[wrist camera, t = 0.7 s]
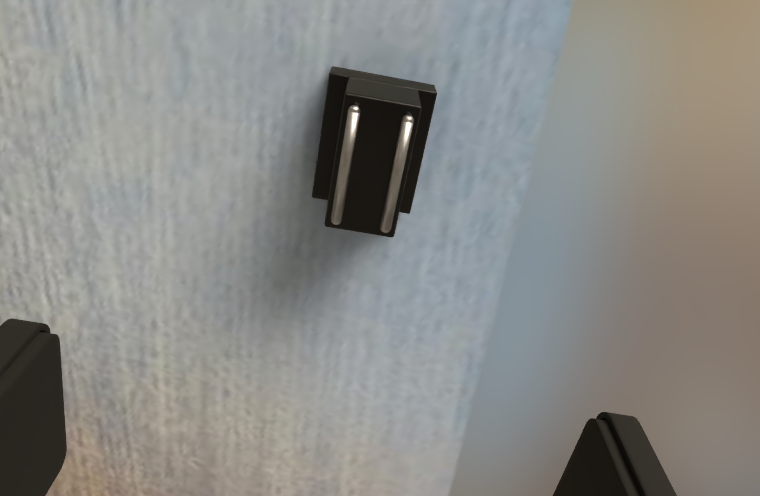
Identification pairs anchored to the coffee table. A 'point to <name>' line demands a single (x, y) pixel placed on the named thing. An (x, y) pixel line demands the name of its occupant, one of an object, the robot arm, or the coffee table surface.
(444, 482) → the coffee table surface
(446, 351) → the coffee table surface
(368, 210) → the clip
